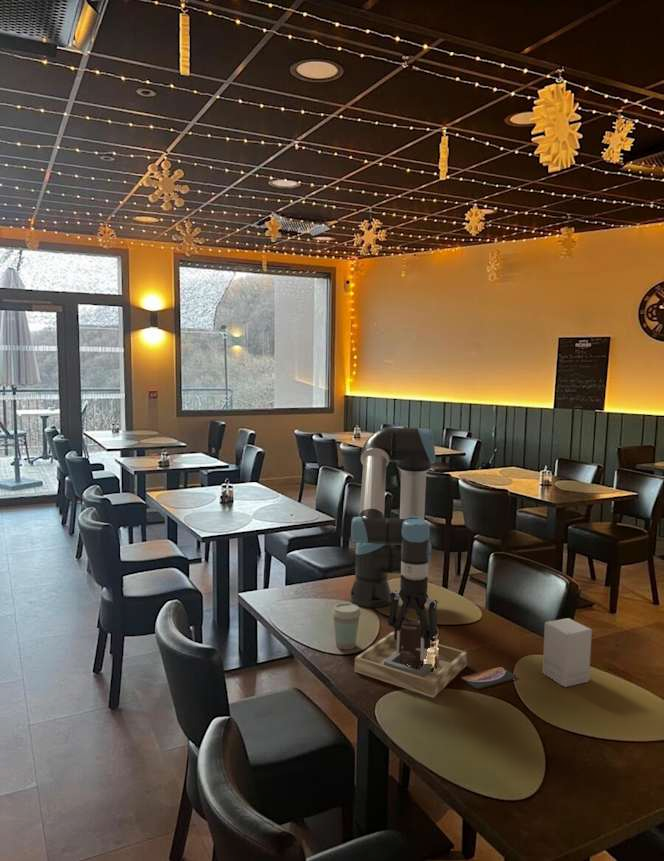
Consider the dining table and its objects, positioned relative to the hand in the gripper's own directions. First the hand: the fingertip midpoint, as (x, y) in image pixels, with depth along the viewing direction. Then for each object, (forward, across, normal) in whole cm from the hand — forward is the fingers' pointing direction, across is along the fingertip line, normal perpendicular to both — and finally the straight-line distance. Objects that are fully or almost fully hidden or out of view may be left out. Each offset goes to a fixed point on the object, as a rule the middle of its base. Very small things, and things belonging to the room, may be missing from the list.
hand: (411, 654), depth 180 cm
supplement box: (+4, +37, +20) cm, 42 cm away
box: (+2, 0, 0) cm, 2 cm away
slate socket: (+4, 0, 0) cm, 4 cm away
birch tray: (+4, 0, 0) cm, 4 cm away
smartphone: (+5, +20, +7) cm, 22 cm away
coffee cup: (+4, -23, +1) cm, 23 cm away
